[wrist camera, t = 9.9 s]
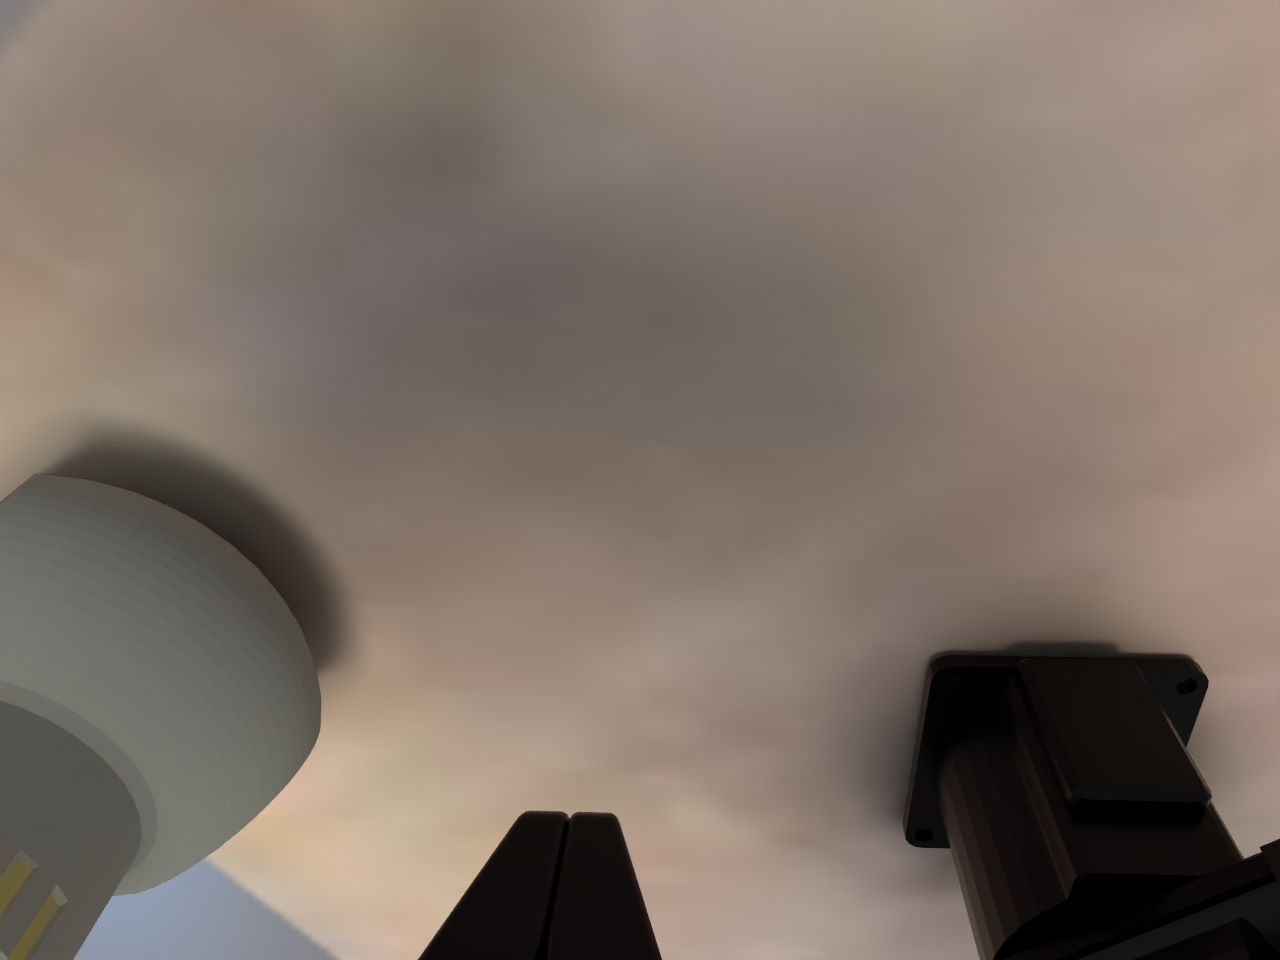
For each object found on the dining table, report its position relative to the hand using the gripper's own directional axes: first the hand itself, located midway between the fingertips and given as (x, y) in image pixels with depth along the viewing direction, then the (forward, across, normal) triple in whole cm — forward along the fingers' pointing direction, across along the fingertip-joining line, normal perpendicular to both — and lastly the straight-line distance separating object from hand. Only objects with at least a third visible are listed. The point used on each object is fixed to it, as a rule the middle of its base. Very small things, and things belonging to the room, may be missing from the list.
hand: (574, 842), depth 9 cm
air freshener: (+13, +13, +8) cm, 20 cm away
